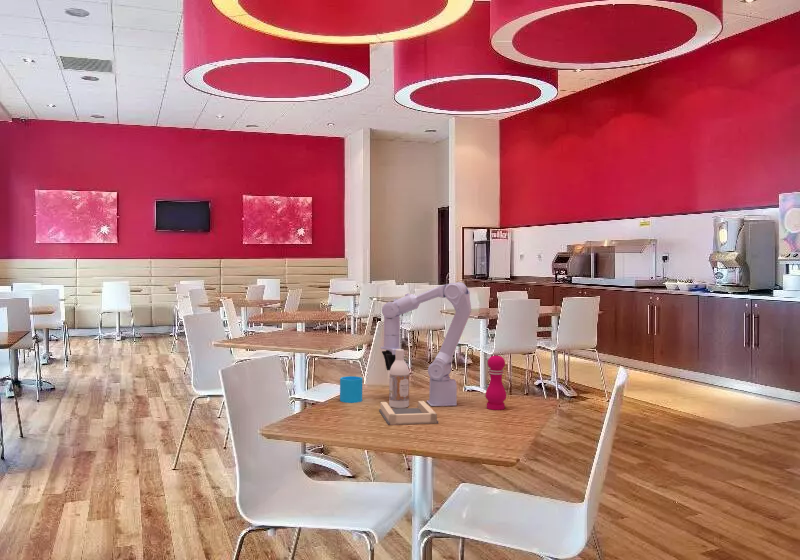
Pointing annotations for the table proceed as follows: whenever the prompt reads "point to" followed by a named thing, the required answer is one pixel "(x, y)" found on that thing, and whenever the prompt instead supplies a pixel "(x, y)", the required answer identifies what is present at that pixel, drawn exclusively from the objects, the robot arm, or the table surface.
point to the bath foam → (399, 382)
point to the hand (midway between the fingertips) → (391, 371)
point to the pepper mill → (496, 383)
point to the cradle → (408, 414)
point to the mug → (351, 389)
